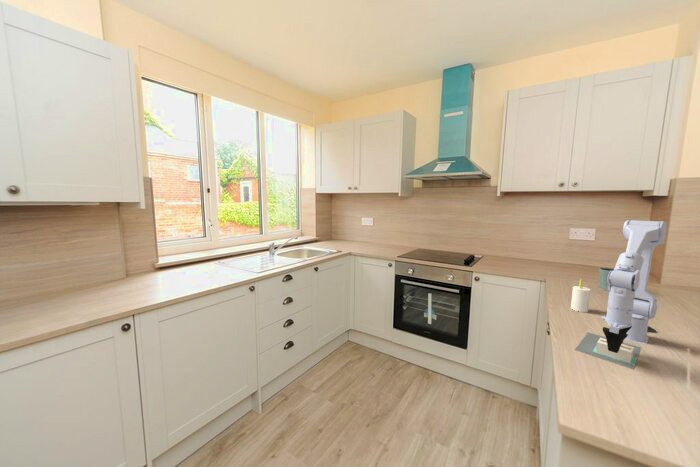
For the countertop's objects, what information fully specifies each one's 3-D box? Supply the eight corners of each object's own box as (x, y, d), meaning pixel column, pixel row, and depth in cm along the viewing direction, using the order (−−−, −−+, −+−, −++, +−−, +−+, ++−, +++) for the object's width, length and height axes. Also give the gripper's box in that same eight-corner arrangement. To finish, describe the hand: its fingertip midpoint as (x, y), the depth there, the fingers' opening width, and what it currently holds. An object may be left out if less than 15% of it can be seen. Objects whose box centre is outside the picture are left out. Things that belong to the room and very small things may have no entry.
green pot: (623, 293, 152) (625, 272, 151) (599, 290, 157) (601, 270, 156) (618, 288, 160) (620, 268, 159) (595, 285, 166) (597, 266, 164)
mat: (587, 333, 104) (588, 332, 104) (640, 349, 94) (641, 347, 94) (574, 351, 92) (574, 349, 92) (633, 371, 81) (633, 369, 81)
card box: (632, 357, 87) (633, 347, 87) (630, 363, 84) (631, 352, 84) (599, 347, 93) (600, 337, 93) (595, 352, 90) (597, 341, 90)
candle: (592, 312, 126) (595, 280, 124) (580, 312, 125) (583, 281, 123) (578, 306, 132) (582, 276, 130) (567, 307, 131) (570, 277, 129)
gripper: (607, 299, 95) (602, 336, 96) (598, 309, 85) (593, 349, 87) (636, 305, 89) (631, 344, 91) (630, 316, 80) (625, 359, 82)
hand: (615, 347), depth 88 cm, fingers open, 7 cm apart
